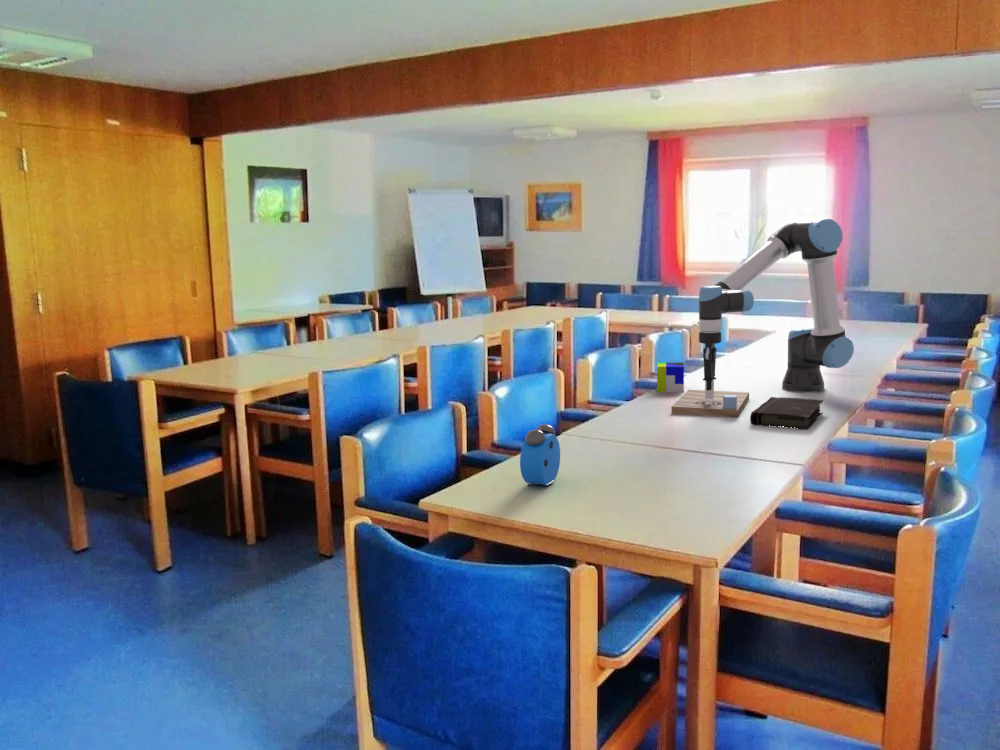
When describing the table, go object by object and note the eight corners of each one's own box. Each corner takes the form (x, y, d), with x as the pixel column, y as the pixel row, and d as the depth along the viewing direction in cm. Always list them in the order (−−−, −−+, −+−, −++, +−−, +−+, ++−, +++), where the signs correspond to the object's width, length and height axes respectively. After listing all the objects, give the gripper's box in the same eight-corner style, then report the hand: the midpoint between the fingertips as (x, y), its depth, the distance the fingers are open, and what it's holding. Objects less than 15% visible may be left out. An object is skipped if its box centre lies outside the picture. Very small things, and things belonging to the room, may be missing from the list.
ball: (714, 406, 281) (707, 412, 283) (716, 404, 284) (710, 411, 285) (707, 400, 282) (701, 406, 283) (709, 398, 285) (703, 404, 286)
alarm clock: (540, 475, 217) (538, 420, 214) (562, 477, 214) (560, 422, 211) (520, 490, 205) (518, 432, 202) (542, 493, 202) (541, 434, 200)
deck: (688, 396, 308) (688, 389, 307) (749, 399, 299) (749, 392, 298) (671, 413, 281) (671, 406, 280) (737, 417, 272) (737, 410, 272)
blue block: (735, 406, 277) (735, 394, 276) (736, 409, 273) (736, 397, 272) (722, 406, 278) (723, 394, 277) (724, 409, 274) (724, 397, 273)
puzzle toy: (683, 392, 315) (683, 366, 313) (657, 392, 317) (657, 366, 315) (683, 387, 325) (683, 362, 323) (657, 387, 327) (657, 362, 325)
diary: (749, 426, 262) (749, 410, 261) (768, 410, 283) (768, 395, 282) (810, 431, 253) (811, 415, 252) (825, 414, 273) (826, 400, 273)
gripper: (702, 328, 288) (701, 394, 293) (695, 333, 277) (695, 401, 281) (724, 329, 285) (723, 395, 290) (718, 333, 274) (717, 402, 278)
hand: (709, 398), depth 285 cm, fingers closed
